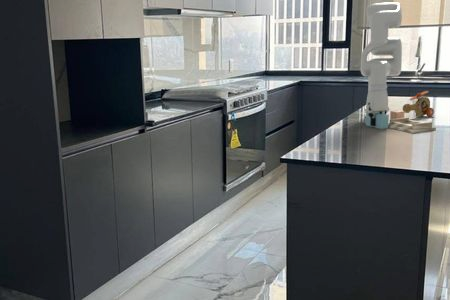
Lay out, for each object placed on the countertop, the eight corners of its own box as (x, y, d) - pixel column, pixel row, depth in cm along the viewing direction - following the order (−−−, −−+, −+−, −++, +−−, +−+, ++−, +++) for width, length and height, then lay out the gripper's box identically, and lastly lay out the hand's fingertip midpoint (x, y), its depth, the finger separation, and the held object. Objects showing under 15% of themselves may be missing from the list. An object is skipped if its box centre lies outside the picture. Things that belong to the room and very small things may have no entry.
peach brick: (390, 122, 254) (390, 111, 253) (397, 121, 256) (398, 110, 255) (396, 124, 250) (396, 112, 249) (403, 123, 252) (404, 111, 250)
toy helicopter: (435, 116, 268) (436, 90, 265) (410, 120, 257) (411, 94, 254) (422, 114, 275) (423, 89, 272) (397, 118, 264) (398, 93, 261)
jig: (385, 127, 243) (386, 119, 242) (408, 124, 248) (408, 116, 247) (412, 133, 227) (412, 125, 226) (435, 129, 232) (436, 122, 231)
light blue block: (365, 125, 250) (366, 112, 248) (372, 124, 251) (372, 111, 250) (381, 129, 239) (382, 115, 237) (388, 128, 240) (388, 114, 239)
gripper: (386, 86, 247) (385, 122, 251) (358, 88, 241) (358, 125, 245) (397, 87, 240) (395, 124, 244) (368, 90, 234) (367, 128, 238)
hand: (376, 124), depth 245 cm, fingers closed on light blue block, 4 cm apart
